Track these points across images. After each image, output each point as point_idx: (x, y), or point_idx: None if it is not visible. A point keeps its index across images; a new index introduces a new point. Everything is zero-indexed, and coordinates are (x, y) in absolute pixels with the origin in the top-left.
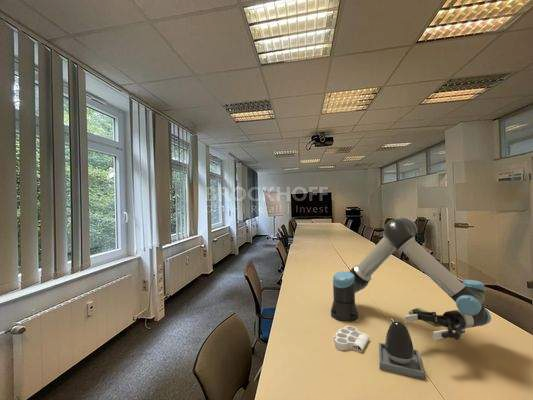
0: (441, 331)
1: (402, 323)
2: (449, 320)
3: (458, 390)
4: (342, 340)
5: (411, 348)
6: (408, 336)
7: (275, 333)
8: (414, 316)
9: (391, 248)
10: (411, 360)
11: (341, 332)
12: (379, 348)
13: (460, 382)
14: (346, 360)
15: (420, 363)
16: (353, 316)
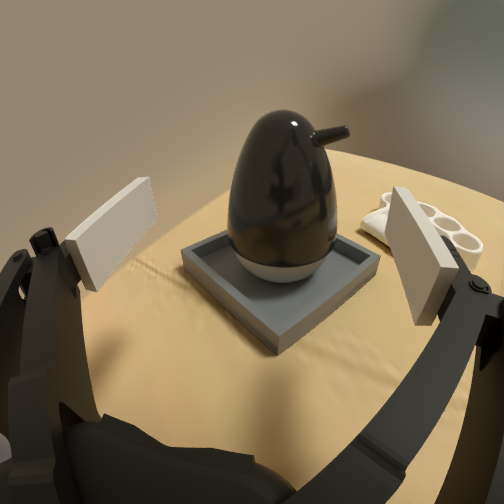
0: (105, 203)
1: (270, 115)
2: (28, 461)
3: (101, 299)
4: None
5: (228, 206)
6: (238, 161)
7: (440, 179)
8: (421, 249)
9: None
10: (257, 291)
11: (438, 215)
12: (345, 238)
13: (99, 335)
14: (338, 201)
15: (211, 273)
16: None
